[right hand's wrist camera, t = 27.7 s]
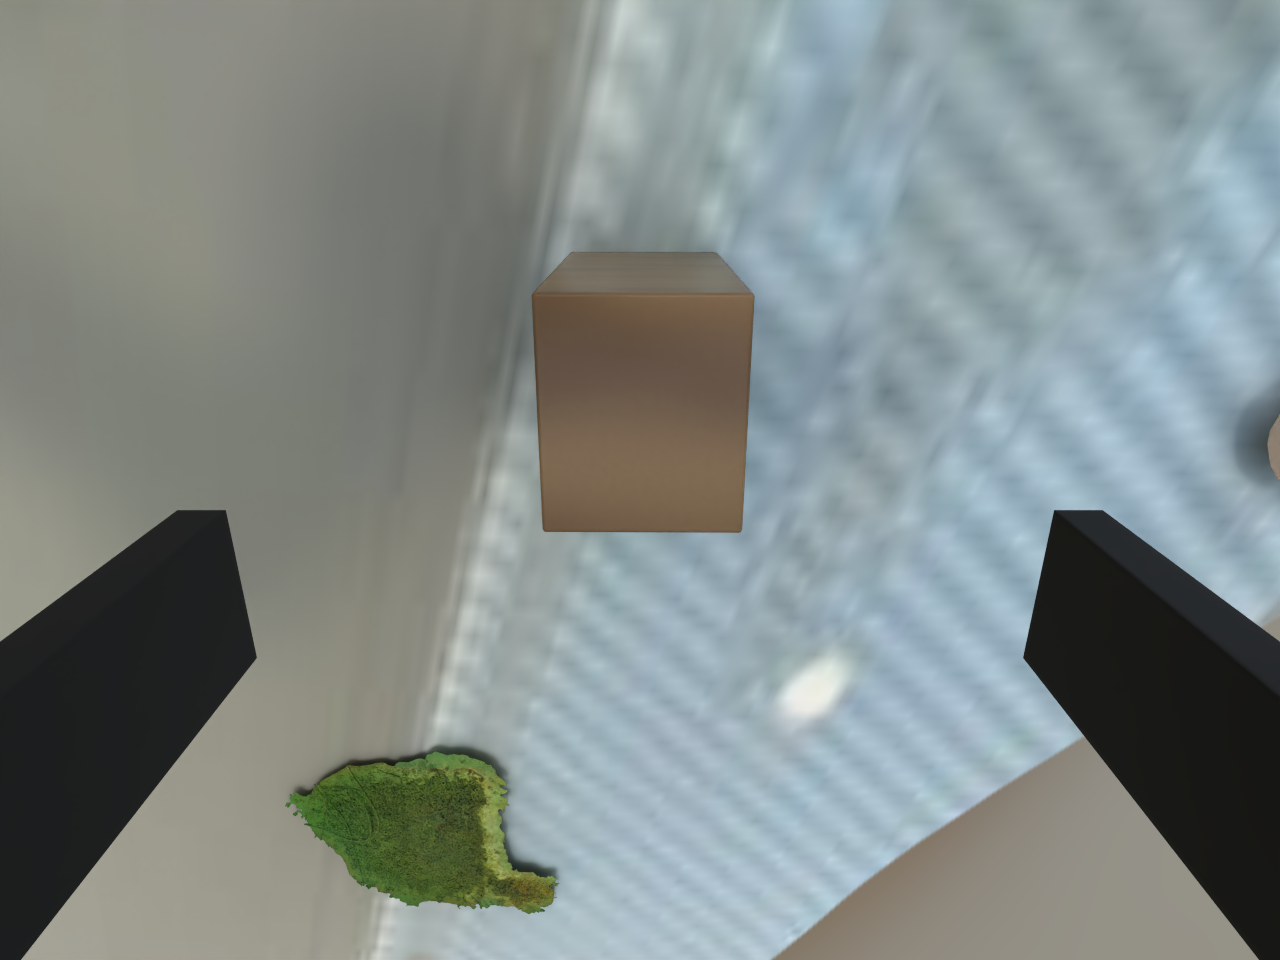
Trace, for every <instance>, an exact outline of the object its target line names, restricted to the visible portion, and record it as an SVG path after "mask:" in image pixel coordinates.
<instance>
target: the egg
mask: <svg viewBox="0 0 1280 960" xmlns="http://www.w3.org/2000/svg"><path fill="white" fill-rule="evenodd" d="M1267 446H1268V453H1269V460H1270V465H1271V467H1272V469H1273V471H1274V473H1275V475H1276V477H1277V478H1278V480H1279V481H1280V414H1279V416H1278V418H1277V419H1276V421H1275V423H1274V424H1273V426H1272V428H1271V429H1270V433H1269V438H1268V443H1267Z"/></svg>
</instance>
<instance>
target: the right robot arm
mask: <svg viewBox="0 0 1280 960" xmlns="http://www.w3.org/2000/svg"><path fill="white" fill-rule="evenodd" d="M256 658H257V657H256V652H255V647H254V642H253V637H252V633H251V628H250V623H249V618H248V614H247V609H246V604H245V599H244V595H243V590H242V585H241V580H240V576H239V571H238V566H237V561H236V557H235V552H234V547H233V542H232V538H231V533H230V528H229V523H228V519H227V514H226V510H177V511H176V512H175V513H173V514H172V515H170V516H169V517H168V518H166V519H165V520H164V521H162V522H161V523H160V524H158V525H157V526H156V527H154V528H153V529H152V530H150V531H149V532H148V533H146V534H145V535H144V536H142V537H141V538H139V539H138V540H137V541H135V542H134V543H133V544H131V545H130V546H129V547H127V548H126V549H125V550H123V551H122V552H121V553H119V554H118V555H117V556H115V557H114V558H112V559H111V560H110V561H108V562H107V563H106V564H104V565H103V566H102V567H100V568H99V569H98V570H96V571H95V572H94V573H92V574H91V575H90V576H88V577H87V578H86V579H84V580H83V581H81V582H80V583H79V584H77V585H76V586H75V587H73V588H72V589H71V590H69V591H68V592H67V593H65V594H64V595H63V596H61V597H60V598H59V599H57V600H56V601H55V602H53V603H52V604H50V605H49V606H48V607H46V608H45V609H44V610H42V611H41V612H40V613H38V614H37V615H36V616H34V617H33V618H32V619H30V620H29V621H28V622H26V623H25V624H24V625H22V626H21V627H19V628H18V629H17V630H15V631H14V632H13V633H11V634H10V635H9V636H7V637H6V638H5V639H3V640H2V641H1V642H0V960H21V959H22V958H23V956H24V955H25V954H26V953H27V951H28V950H29V949H30V947H31V946H32V945H33V944H34V942H35V941H36V940H37V938H38V937H39V936H40V935H41V933H42V932H43V931H44V929H45V928H46V927H47V926H48V924H49V923H50V922H51V921H52V919H53V918H54V917H55V915H56V914H57V913H58V912H59V910H60V909H61V908H62V906H63V905H64V904H65V903H66V901H67V900H68V899H69V897H70V896H71V895H72V894H73V892H74V891H75V890H76V889H77V887H78V886H79V885H80V883H81V882H82V881H83V880H84V878H85V877H86V876H87V874H88V873H89V872H90V871H91V869H92V868H93V867H94V865H95V864H96V863H97V862H98V860H99V859H100V858H101V857H102V855H103V854H104V853H105V851H106V850H107V849H108V848H109V846H110V845H111V844H112V842H113V841H114V840H115V839H116V837H117V836H118V835H119V833H120V832H121V831H122V830H123V828H124V827H125V826H126V825H127V823H128V822H129V821H130V819H131V818H132V817H133V816H134V814H135V813H136V812H137V810H138V809H139V808H140V807H141V805H142V804H143V803H144V801H145V800H146V799H147V798H148V796H149V795H150V794H151V793H152V791H153V790H154V789H155V787H156V786H157V785H158V784H159V782H160V781H161V780H162V778H163V777H164V776H165V775H166V773H167V772H168V771H169V769H170V768H171V767H172V766H173V764H174V763H175V762H176V761H177V759H178V758H179V757H180V755H181V754H182V753H183V752H184V750H185V749H186V748H187V746H188V745H189V744H190V743H191V741H192V740H193V739H194V737H195V736H196V735H197V734H198V732H199V731H200V730H201V729H202V727H203V726H204V725H205V723H206V722H207V721H208V720H209V718H210V717H211V716H212V714H213V713H214V712H215V711H216V709H217V708H218V707H219V705H220V704H221V703H222V702H223V700H224V699H225V698H226V697H227V695H228V694H229V693H230V691H231V690H232V689H233V688H234V686H235V685H236V684H237V682H238V681H239V680H240V679H241V677H242V676H243V675H244V673H245V672H246V671H247V670H248V668H249V667H250V666H251V665H252V663H253V662H254V661H255V659H256ZM1023 658H1024V659H1025V661H1026V662H1027V663H1028V665H1029V666H1030V667H1031V668H1032V670H1033V671H1034V672H1035V673H1036V675H1037V676H1038V677H1039V679H1040V680H1041V681H1042V682H1043V684H1044V685H1045V686H1046V688H1047V689H1048V690H1049V691H1050V693H1051V694H1052V695H1053V697H1054V698H1055V699H1056V700H1057V702H1058V703H1059V704H1060V705H1061V707H1062V708H1063V709H1064V711H1065V712H1066V713H1067V714H1068V716H1069V717H1070V718H1071V720H1072V721H1073V722H1074V723H1075V725H1076V726H1077V727H1078V729H1079V730H1080V731H1081V732H1082V734H1083V735H1084V736H1085V737H1086V739H1087V740H1088V741H1089V743H1090V744H1091V745H1092V746H1093V748H1094V749H1095V750H1096V751H1097V753H1098V754H1099V755H1100V757H1101V758H1102V759H1103V760H1104V762H1105V763H1106V764H1107V766H1108V767H1109V768H1110V769H1111V771H1112V772H1113V773H1114V775H1115V776H1116V777H1117V778H1118V780H1119V781H1120V782H1121V784H1122V785H1123V786H1124V787H1125V789H1126V790H1127V791H1128V792H1129V794H1130V795H1131V796H1132V798H1133V799H1134V800H1135V801H1136V803H1137V804H1138V805H1139V807H1140V808H1141V809H1142V810H1143V812H1144V813H1145V814H1146V816H1147V817H1148V818H1149V819H1150V821H1151V822H1152V823H1153V825H1154V826H1155V827H1156V828H1157V830H1158V831H1159V832H1160V833H1161V835H1162V836H1163V837H1164V839H1165V840H1166V841H1167V842H1168V844H1169V845H1170V846H1171V848H1172V849H1173V850H1174V851H1175V853H1176V854H1177V855H1178V857H1179V858H1180V859H1181V860H1182V862H1183V863H1184V864H1185V865H1186V867H1187V868H1188V869H1189V871H1190V872H1191V873H1192V874H1193V876H1194V877H1195V878H1196V879H1197V881H1198V882H1199V883H1200V885H1201V886H1202V887H1203V888H1204V890H1205V891H1206V892H1207V894H1208V895H1209V896H1210V897H1211V899H1212V900H1213V901H1214V903H1215V904H1216V905H1217V906H1218V908H1219V909H1220V910H1221V912H1222V913H1223V914H1224V915H1225V917H1226V918H1227V919H1228V920H1229V922H1230V923H1231V924H1232V926H1233V927H1234V928H1235V929H1236V931H1237V932H1238V933H1239V935H1240V936H1241V937H1242V938H1243V940H1244V941H1245V942H1246V944H1247V945H1248V946H1249V947H1250V949H1251V950H1252V951H1253V953H1254V954H1255V955H1256V956H1257V958H1258V959H1259V960H1280V642H1279V641H1278V640H1277V639H1275V638H1274V637H1273V636H1271V635H1270V634H1269V633H1267V632H1266V631H1265V630H1263V629H1262V628H1261V627H1259V626H1258V625H1256V624H1255V623H1254V622H1252V621H1251V620H1250V619H1248V618H1247V617H1246V616H1244V615H1243V614H1242V613H1240V612H1239V611H1238V610H1236V609H1235V608H1234V607H1232V606H1231V605H1230V604H1228V603H1227V602H1225V601H1224V600H1223V599H1221V598H1220V597H1219V596H1217V595H1216V594H1215V593H1213V592H1212V591H1211V590H1209V589H1208V588H1207V587H1205V586H1204V585H1203V584H1201V583H1200V582H1199V581H1197V580H1196V579H1194V578H1193V577H1192V576H1190V575H1189V574H1188V573H1186V572H1185V571H1184V570H1182V569H1181V568H1180V567H1178V566H1177V565H1176V564H1174V563H1173V562H1172V561H1170V560H1169V559H1168V558H1166V557H1165V556H1163V555H1162V554H1161V553H1159V552H1158V551H1157V550H1155V549H1154V548H1153V547H1151V546H1150V545H1149V544H1147V543H1146V542H1145V541H1143V540H1142V539H1141V538H1139V537H1138V536H1136V535H1135V534H1134V533H1132V532H1131V531H1130V530H1128V529H1127V528H1126V527H1124V526H1123V525H1122V524H1120V523H1119V522H1118V521H1116V520H1115V519H1114V518H1112V517H1111V516H1110V515H1108V514H1107V513H1105V512H1104V511H1103V510H1054V514H1053V519H1052V523H1051V528H1050V533H1049V538H1048V542H1047V547H1046V552H1045V557H1044V561H1043V566H1042V571H1041V576H1040V580H1039V585H1038V590H1037V595H1036V599H1035V604H1034V609H1033V614H1032V618H1031V623H1030V628H1029V633H1028V637H1027V642H1026V647H1025V652H1024V656H1023Z"/></svg>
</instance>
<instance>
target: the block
mask: <svg viewBox="0 0 1280 960" xmlns="http://www.w3.org/2000/svg"><path fill="white" fill-rule="evenodd" d="M532 311H533V332H534V354H535V375H536V396H537V417H538V438H539V459H540V481H541V502H542V523H543V530H544V531H545V532H730V533H739V532H741V531H742V521H743V502H744V483H745V464H746V445H747V427H748V408H749V389H750V370H751V351H752V332H753V314H754V294H753V293H752V292H751V291H750V289H749V288H748V287H747V286H746V285H745V284H744V283H743V282H742V280H741V279H740V278H739V277H738V276H737V275H736V274H735V273H734V271H733V270H732V269H731V268H730V267H729V266H728V265H727V264H726V263H725V261H724V260H723V259H722V258H721V257H720V256H719V255H718V254H717V253H716V252H572V253H570V254H569V255H568V256H567V257H566V258H565V260H564V261H563V262H562V263H561V264H560V265H559V266H558V267H557V268H556V269H555V270H554V271H553V272H552V273H551V274H550V276H549V277H548V278H547V279H546V280H545V281H544V282H543V283H542V284H541V285H540V286H539V287H538V288H537V289H536V290H535V291H534V293H533V294H532Z"/></svg>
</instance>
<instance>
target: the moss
mask: <svg viewBox="0 0 1280 960" xmlns="http://www.w3.org/2000/svg"><path fill="white" fill-rule="evenodd" d="M506 784H507V783H506V782H505V781H504V780H503V779H502V778H500V777H498V776H497V774H496V770H495V769H494V768H492V766H491V765H487V764H485V762H483V761H480V760H477V759H473V758H469V757H468V756H467V755H463V754H461V755H456V754H452V755H445V754H442V753H439V752H433V753H432V754H428V755H427V756H426V758H425V759H421V758H420V759H416V760H413V761H410V762H398V763H396V765H395V766H389V765H387V764H386V763H374V764H371V765H364V766H352V765H348V766H346V767H345V768H344V769H342V770H339V771H337V772H336V773H335V774H332V775H331V776H329V777H327V778H325V779H324V780H322V781H321V782H320V783H319V784H318V785H315V786H316V787H315V788H313V791H312V793H311V794H310V795H308V796H301V795H299V794H298V793H293V794H294V795H295V796H294V797H293V796H292V795H291V794H290V798H291V802H290V803H286V805H285V806H287V808H288V807H289V806H290V805H291V804H292V803H294V804H295V805H296V807H297V808H300V809H302V811H296V812H295V813H293V815H294V816H296V815H297V814H298V812H300V813H301V814H302V816H301V818H303V817H305V820H307V822H308V824H304V825H308V826H310V827H311V829H312V831H313V832H314V833H315V835H316V836H317V837H318V838H319V839H320V840H324V841H325V842H326V844H327V845H328V847H329V846H331V848H333V849H334V850H335V852H336V853H337V854H338V855H340V856H342V858H343V860H344V861H345V863H346V865H347V868H348V871H349V874H350V875H351V876H352V877H353V878H354V879H355V880H357V883H359V884H361V886H364V885H365V884H367V885H366V887H367V888H368V889H370V888H371V887H377V889H378V892H383V893H390V894H391V895H390V896H389V897H390V898H392V897H395V899H396V898H400V901H402V902H405V903H407V905H411V906H412V905H414V906H417V907H418V906H419V903H421V902H424V901H437V902H438V903H441V902H445V903H452V904H457V905H458V908H459V906H461V905H463V906H465V907H466V906H470V907H472V908H473V909H475V908H476V906H474V905H476V904H479V905H480V908H481V909H482V907H485V908H488V907H490V905H497V906H506V907H509V906H515V907H516V908H518V909H519V910H520V909H521V910H522V911H524V912H526V913H528V914H530V913H535V911H537V912H540V911H542V912H544V911H545V910H544V909H541V908H540V907H546V906H548V905H551V904H552V902H553V899H554V898H557V897H554V896H553V894H554V893H555V892H554V890H553V888H552V889H551V886H550V885H552V884H553V885H554V886H557V884H559V883H554V882H555V880H557V879H556V878H553V876H551V877H549V876H548V877H547V878H545V877H539V876H537V875H536V874H534V872H518V871H517V869H516V870H512V869H511V868H513V867H512V866H511V863H509V862H508V856H507V854H506V850H505V849H504V845H503V842H505V843H506V841H505V840H504V837H505V833H504V832H502V830H501V829H500V827H499V826H500V824H501V823H502V817H501V816H500V815H499V813H498V810H499V809H501V810H502V812H504V810H505V806H506V805H509V804H507V801H508V799H506V798H504V797H502V796H501V794H505V793H506V792H507V790H503V789H502V788H501V786H500V785H504V786H506ZM316 836H315V837H316ZM471 904H473V905H471ZM459 909H460V908H459Z"/></svg>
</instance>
